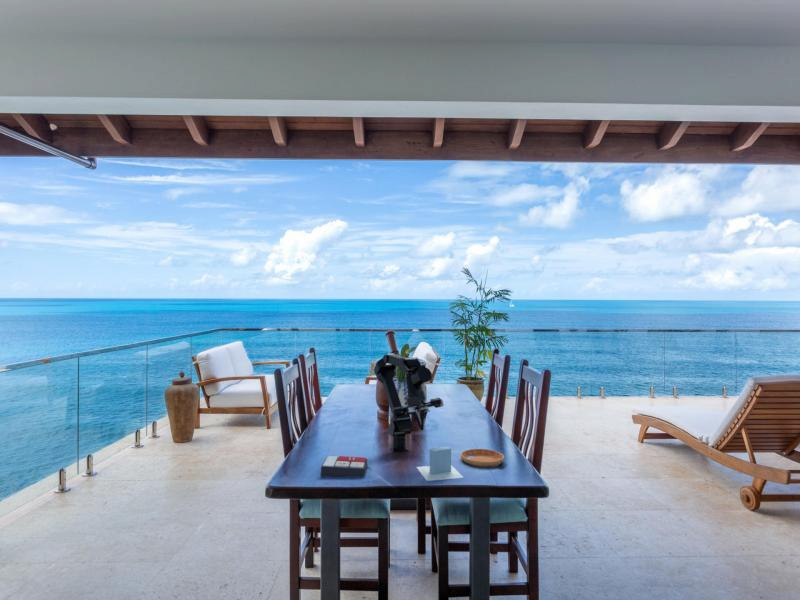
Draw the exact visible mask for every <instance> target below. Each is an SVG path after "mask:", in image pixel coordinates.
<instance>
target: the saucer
mask: <svg viewBox="0 0 800 600" xmlns="http://www.w3.org/2000/svg"><path fill="white" fill-rule="evenodd" d="M460 457H461V459H462V461H463V462H464V463H466V464H467V465H471V466H475V467H482V468H483V467H484V468H487V467H488V468H489V467H494V468H495V467H498V466H499V465H500V464H502V463H503V461H504V459H505V456H504V454H503V453H501V452H499V451H496V450H492V449H487V448H471V449H466V450H464V451H462V452H461V453H460ZM470 457H471V458H470Z"/></svg>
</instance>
